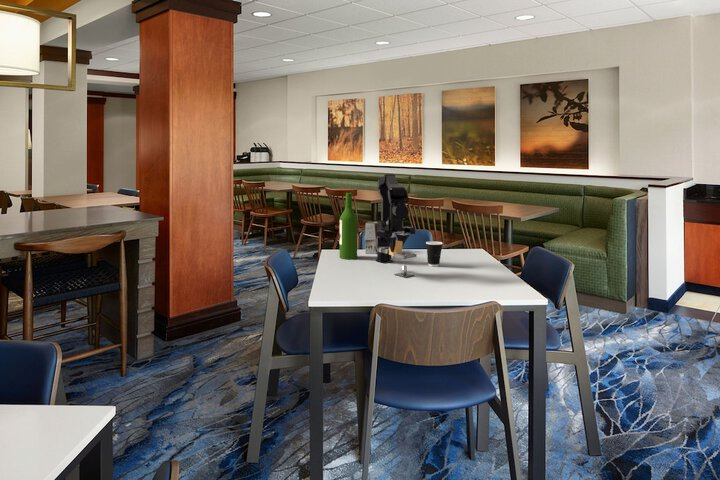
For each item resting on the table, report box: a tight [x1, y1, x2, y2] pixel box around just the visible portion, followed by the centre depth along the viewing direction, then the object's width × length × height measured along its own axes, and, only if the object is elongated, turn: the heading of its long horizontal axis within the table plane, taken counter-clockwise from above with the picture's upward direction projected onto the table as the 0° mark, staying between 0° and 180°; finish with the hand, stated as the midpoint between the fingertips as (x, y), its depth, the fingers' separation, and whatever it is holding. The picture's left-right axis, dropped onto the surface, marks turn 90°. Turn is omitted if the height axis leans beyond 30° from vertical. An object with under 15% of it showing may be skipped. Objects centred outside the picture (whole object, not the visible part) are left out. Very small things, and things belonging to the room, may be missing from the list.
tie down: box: [377, 239, 417, 260], centre depth 227 cm, size 20×7×6 cm, turn 41°
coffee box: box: [364, 221, 380, 255], centre depth 276 cm, size 9×6×16 cm
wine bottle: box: [338, 192, 359, 260], centre depth 258 cm, size 9×9×32 cm
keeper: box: [394, 264, 415, 279], centre depth 223 cm, size 6×6×5 cm
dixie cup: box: [425, 240, 444, 268], centre depth 244 cm, size 8×8×11 cm
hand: (395, 251), depth 226 cm, fingers closed on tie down, 4 cm apart
